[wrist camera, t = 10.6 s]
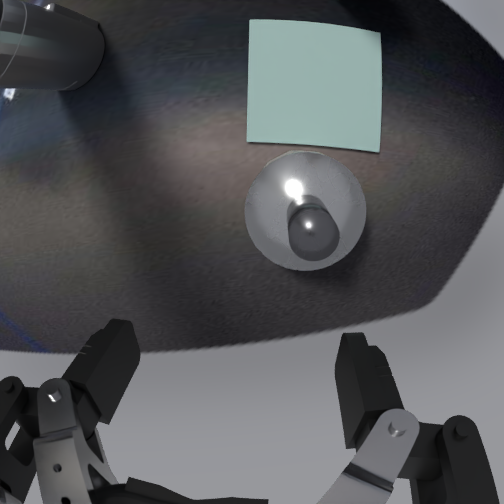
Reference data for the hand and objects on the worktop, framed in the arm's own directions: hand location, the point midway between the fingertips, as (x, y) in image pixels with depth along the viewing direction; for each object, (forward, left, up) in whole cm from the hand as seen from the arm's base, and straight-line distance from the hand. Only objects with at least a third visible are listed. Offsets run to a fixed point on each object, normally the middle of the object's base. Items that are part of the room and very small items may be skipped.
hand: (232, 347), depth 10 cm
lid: (0, +4, -18) cm, 18 cm away
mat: (-14, +5, -23) cm, 27 cm away
